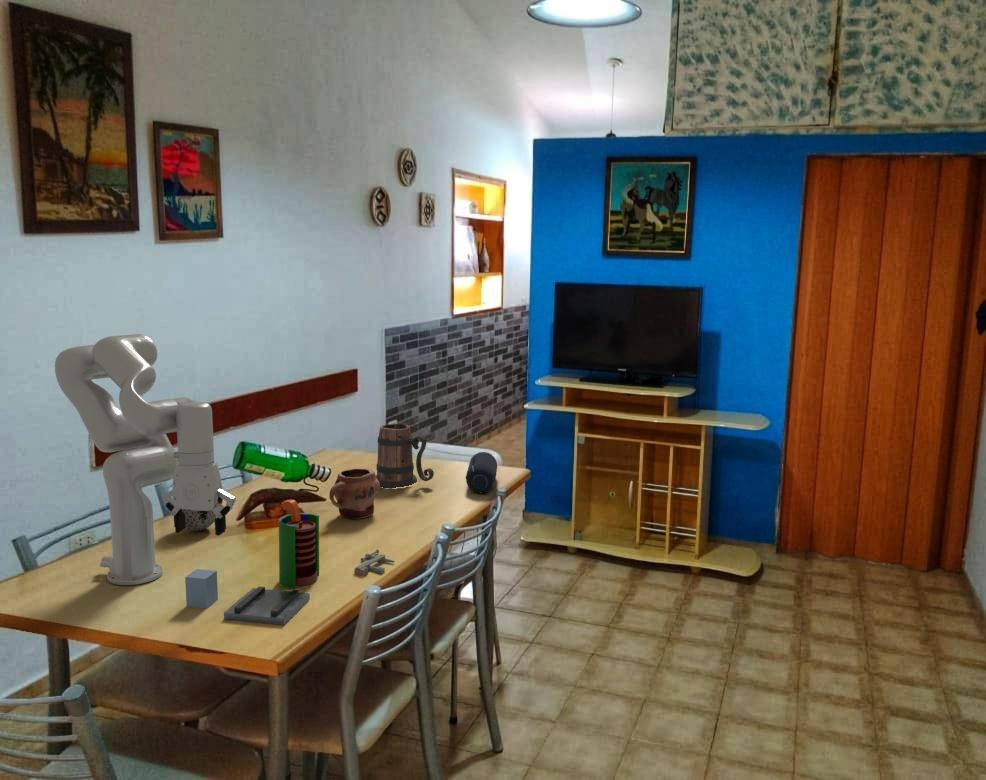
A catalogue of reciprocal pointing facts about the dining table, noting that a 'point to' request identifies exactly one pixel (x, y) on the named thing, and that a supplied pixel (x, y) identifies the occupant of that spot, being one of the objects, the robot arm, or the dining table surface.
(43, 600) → the dining table surface
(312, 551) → the motor
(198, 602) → the slate grey block
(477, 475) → the portable speaker
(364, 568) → the clamp
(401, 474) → the tankard
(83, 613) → the dining table surface
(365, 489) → the clay mug
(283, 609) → the mounting bracket
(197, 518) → the decorative egg
